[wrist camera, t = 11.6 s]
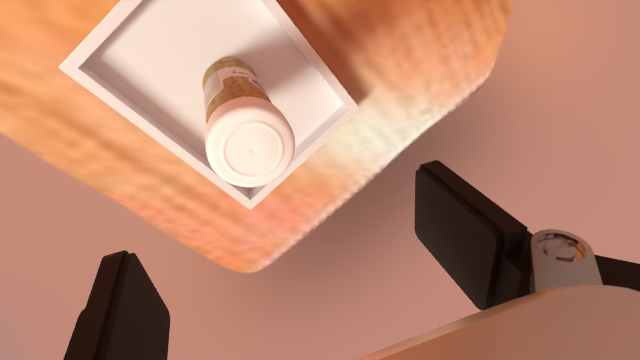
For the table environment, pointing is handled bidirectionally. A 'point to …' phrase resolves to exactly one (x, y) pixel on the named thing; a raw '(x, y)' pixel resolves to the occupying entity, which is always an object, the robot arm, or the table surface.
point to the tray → (190, 66)
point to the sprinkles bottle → (244, 126)
